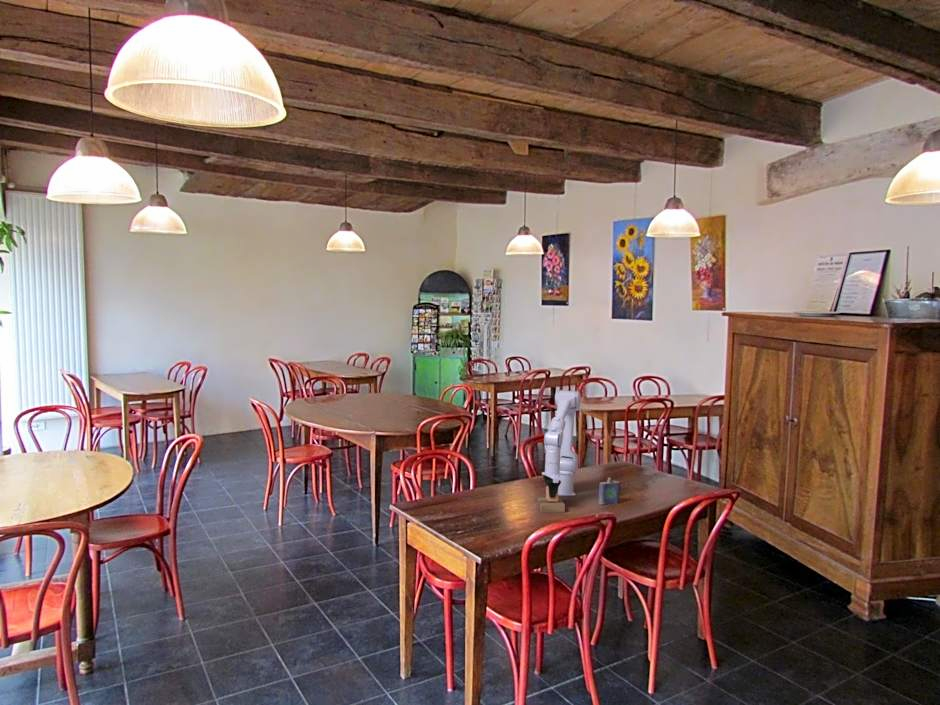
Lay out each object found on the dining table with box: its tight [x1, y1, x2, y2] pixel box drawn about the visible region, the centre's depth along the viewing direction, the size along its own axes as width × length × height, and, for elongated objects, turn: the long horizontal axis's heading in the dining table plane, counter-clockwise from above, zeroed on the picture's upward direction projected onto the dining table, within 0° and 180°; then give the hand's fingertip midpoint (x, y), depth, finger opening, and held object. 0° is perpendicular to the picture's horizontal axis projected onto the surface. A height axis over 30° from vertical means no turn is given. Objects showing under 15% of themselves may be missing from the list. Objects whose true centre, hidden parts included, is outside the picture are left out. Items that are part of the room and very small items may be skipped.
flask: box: [597, 477, 621, 506], centre depth 261 cm, size 9×3×11 cm, turn 109°
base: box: [537, 497, 566, 513], centre depth 253 cm, size 9×9×3 cm
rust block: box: [545, 485, 559, 501], centre depth 253 cm, size 4×4×5 cm
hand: (551, 495), depth 253 cm, fingers closed on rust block, 4 cm apart
